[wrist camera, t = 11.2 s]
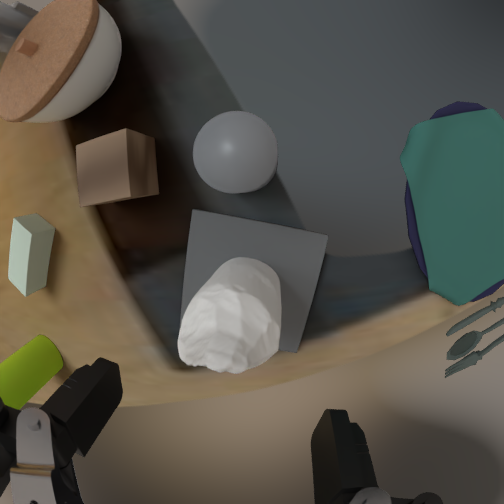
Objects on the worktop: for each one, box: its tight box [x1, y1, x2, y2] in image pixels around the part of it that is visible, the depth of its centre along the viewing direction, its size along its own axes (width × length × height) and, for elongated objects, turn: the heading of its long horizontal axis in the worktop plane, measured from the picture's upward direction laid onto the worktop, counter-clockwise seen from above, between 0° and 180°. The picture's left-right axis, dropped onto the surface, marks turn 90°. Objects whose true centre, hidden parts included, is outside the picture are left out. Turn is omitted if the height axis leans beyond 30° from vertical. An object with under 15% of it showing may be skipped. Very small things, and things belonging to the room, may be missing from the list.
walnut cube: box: [76, 128, 159, 207], centre depth 19 cm, size 5×5×5 cm
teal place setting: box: [400, 102, 504, 378], centre depth 19 cm, size 20×30×2 cm, turn 21°
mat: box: [180, 209, 329, 353], centre depth 23 cm, size 11×11×1 cm
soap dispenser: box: [0, 335, 63, 410], centre depth 19 cm, size 6×7×20 cm
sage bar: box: [8, 213, 55, 297], centre depth 23 cm, size 8×4×4 cm, turn 152°
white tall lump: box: [178, 257, 282, 374], centre depth 17 cm, size 6×12×6 cm
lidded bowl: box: [0, 0, 122, 123], centre depth 14 cm, size 13×13×11 cm
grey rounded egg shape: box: [193, 111, 278, 193], centre depth 18 cm, size 5×5×6 cm
